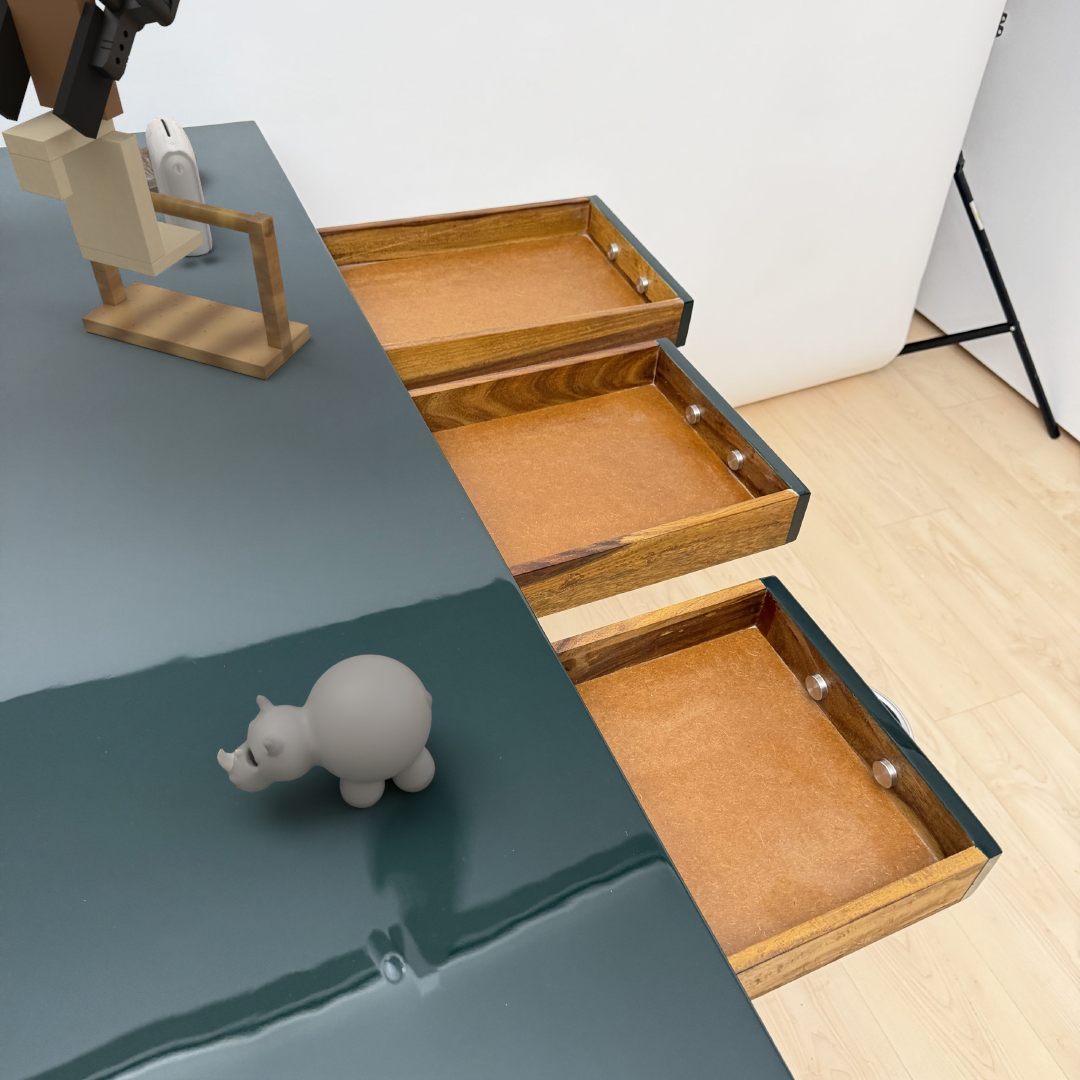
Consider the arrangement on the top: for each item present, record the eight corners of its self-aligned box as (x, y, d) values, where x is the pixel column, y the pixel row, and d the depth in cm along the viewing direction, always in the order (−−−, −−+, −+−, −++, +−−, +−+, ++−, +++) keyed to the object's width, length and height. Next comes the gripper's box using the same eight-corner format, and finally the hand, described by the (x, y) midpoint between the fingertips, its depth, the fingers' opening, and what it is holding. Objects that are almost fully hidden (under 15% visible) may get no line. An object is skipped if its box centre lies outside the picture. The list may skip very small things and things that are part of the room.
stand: (85, 331, 87) (38, 191, 77) (138, 294, 92) (100, 158, 83) (266, 380, 83) (240, 238, 73) (310, 338, 88) (291, 201, 79)
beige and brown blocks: (37, 285, 59) (-69, -6, 48) (134, 227, 66) (62, -42, 54) (113, 306, 58) (23, 12, 46) (203, 244, 65) (145, -27, 53)
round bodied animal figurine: (227, 750, 55) (197, 664, 49) (418, 703, 58) (413, 616, 52) (240, 857, 50) (209, 776, 44) (448, 798, 53) (446, 715, 47)
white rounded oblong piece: (218, 254, 99) (194, 139, 91) (177, 259, 98) (150, 144, 89) (201, 215, 106) (178, 105, 97) (163, 220, 104) (136, 108, 96)
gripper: (313, -195, 54) (203, 177, 54) (65, -226, 58) (-37, 122, 58) (248, -319, 46) (121, 112, 47) (-31, -345, 50) (-148, 53, 50)
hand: (34, 116), depth 52 cm, fingers closed on beige and brown blocks, 5 cm apart
